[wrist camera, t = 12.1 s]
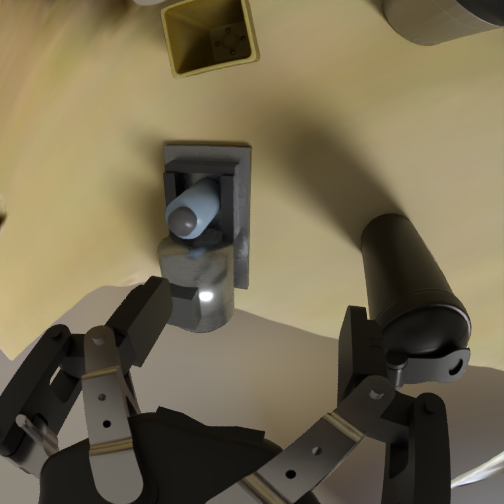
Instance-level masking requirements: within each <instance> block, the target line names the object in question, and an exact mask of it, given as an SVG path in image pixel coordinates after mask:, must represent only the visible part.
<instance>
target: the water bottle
mask: <svg viewBox="0 0 504 504" xmlns="http://www.w3.org/2000/svg"><path fill="white" fill-rule="evenodd" d="M361 250H362V257H363V264H364V271H365V279H366V287H367V296H368V306H369V316H370V320H376V322H377V324H378V325H379V327H380V328H381V331H382V337H383V340H382V341H383V344H384V352H385V359H386V368H387V376H388V380H389V381H390V382H391V383H392V384H393V386H394V388H395V390H398V389H400V388H401V387H402V386H403V385H404V384H417V383H423V382H426V381H436V382H440V383H450V382H453V381H456V380H457V379H459V378H460V377H461V376H462V375H463V374H464V372H465V370H466V367H467V365H468V362H469V359H470V349H469V348H466V347H467V344H468V341H469V338H470V335H471V322H470V318H469V316H468V313H467V311H466V309H465V307H464V306H463V304H462V303H461V301H460V300H459V299H458V298H457V297H456V296H455V295H454V294H453V292H452V290H451V288H450V286H449V284H448V282H447V280H446V278H445V276H444V274H443V272H442V271H441V270H440V267H439V266H438V264H437V262H436V260H434V257H433V255H432V254H431V252H430V250H429V249H428V247H427V246H426V245H425V243H424V241H423V240H422V238H421V237H420V235H419V234H418V232H417V230H416V229H415V227H414V226H413V224H412V223H411V222H410V221H409V220H408V219H407V218H405V217H403V216H401V215H398V214H384V215H381V216H379V217H377V218H375V219H373V220H372V221H371V222H370V223H369V224H368V225H367V226H366V227H365V229H364V231H363V233H362V236H361Z"/></svg>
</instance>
